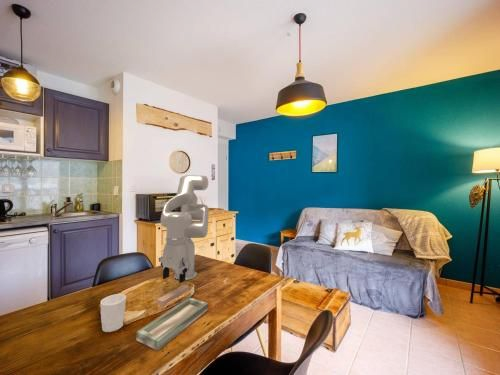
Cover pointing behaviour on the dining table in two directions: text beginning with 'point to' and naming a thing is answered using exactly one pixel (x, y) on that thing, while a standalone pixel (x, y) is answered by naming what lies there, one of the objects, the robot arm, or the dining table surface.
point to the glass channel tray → (171, 323)
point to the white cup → (112, 312)
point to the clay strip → (172, 295)
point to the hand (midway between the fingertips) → (173, 279)
